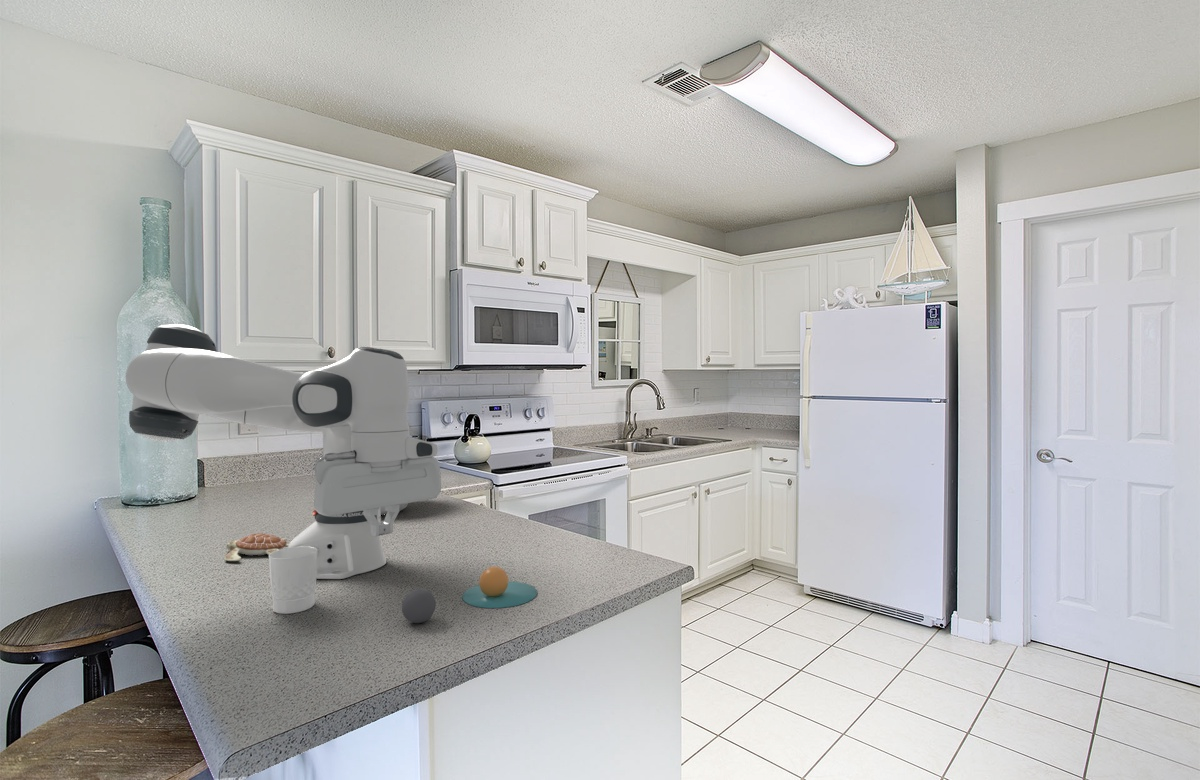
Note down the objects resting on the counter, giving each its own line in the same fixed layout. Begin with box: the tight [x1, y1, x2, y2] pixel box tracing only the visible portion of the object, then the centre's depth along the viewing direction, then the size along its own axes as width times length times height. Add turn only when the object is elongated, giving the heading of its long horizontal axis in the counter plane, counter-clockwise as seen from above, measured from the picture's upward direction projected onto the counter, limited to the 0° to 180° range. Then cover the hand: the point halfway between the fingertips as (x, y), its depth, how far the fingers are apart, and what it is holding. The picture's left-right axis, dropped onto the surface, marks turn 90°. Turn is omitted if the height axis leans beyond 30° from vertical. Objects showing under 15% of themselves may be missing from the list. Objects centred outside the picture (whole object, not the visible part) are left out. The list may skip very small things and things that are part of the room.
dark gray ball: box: [401, 588, 437, 624], centre depth 102 cm, size 6×6×6 cm
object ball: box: [478, 566, 510, 597], centre depth 114 cm, size 6×6×6 cm
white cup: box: [268, 546, 318, 615], centre depth 109 cm, size 8×8×10 cm
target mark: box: [461, 580, 538, 609], centre depth 115 cm, size 14×14×1 cm
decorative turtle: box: [224, 532, 290, 562], centre depth 145 cm, size 18×17×5 cm
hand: (381, 534), depth 97 cm, fingers closed
